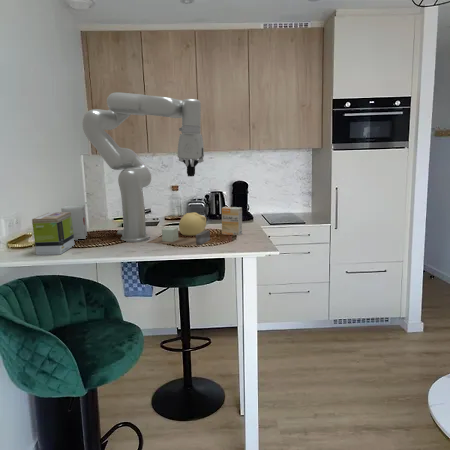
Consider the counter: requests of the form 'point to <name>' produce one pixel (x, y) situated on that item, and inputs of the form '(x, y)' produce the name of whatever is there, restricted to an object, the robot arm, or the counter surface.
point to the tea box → (53, 233)
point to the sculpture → (192, 224)
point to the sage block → (169, 234)
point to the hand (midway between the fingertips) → (190, 176)
